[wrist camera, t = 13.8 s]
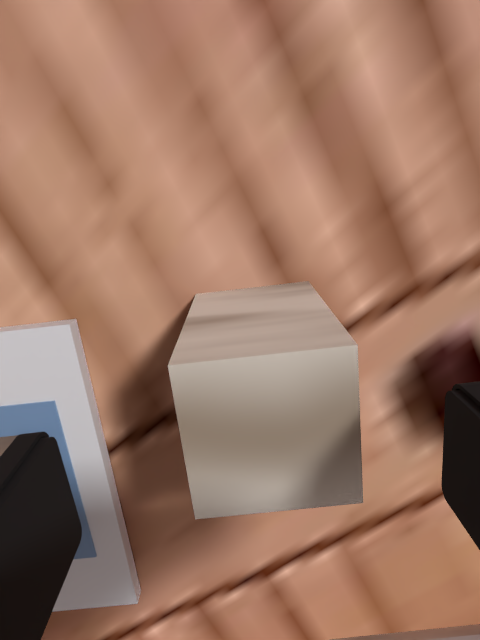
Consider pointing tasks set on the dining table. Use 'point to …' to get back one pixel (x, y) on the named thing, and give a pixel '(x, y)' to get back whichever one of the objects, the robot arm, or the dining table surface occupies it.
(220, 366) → the ash pillar
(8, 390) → the board
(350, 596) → the dining table surface
